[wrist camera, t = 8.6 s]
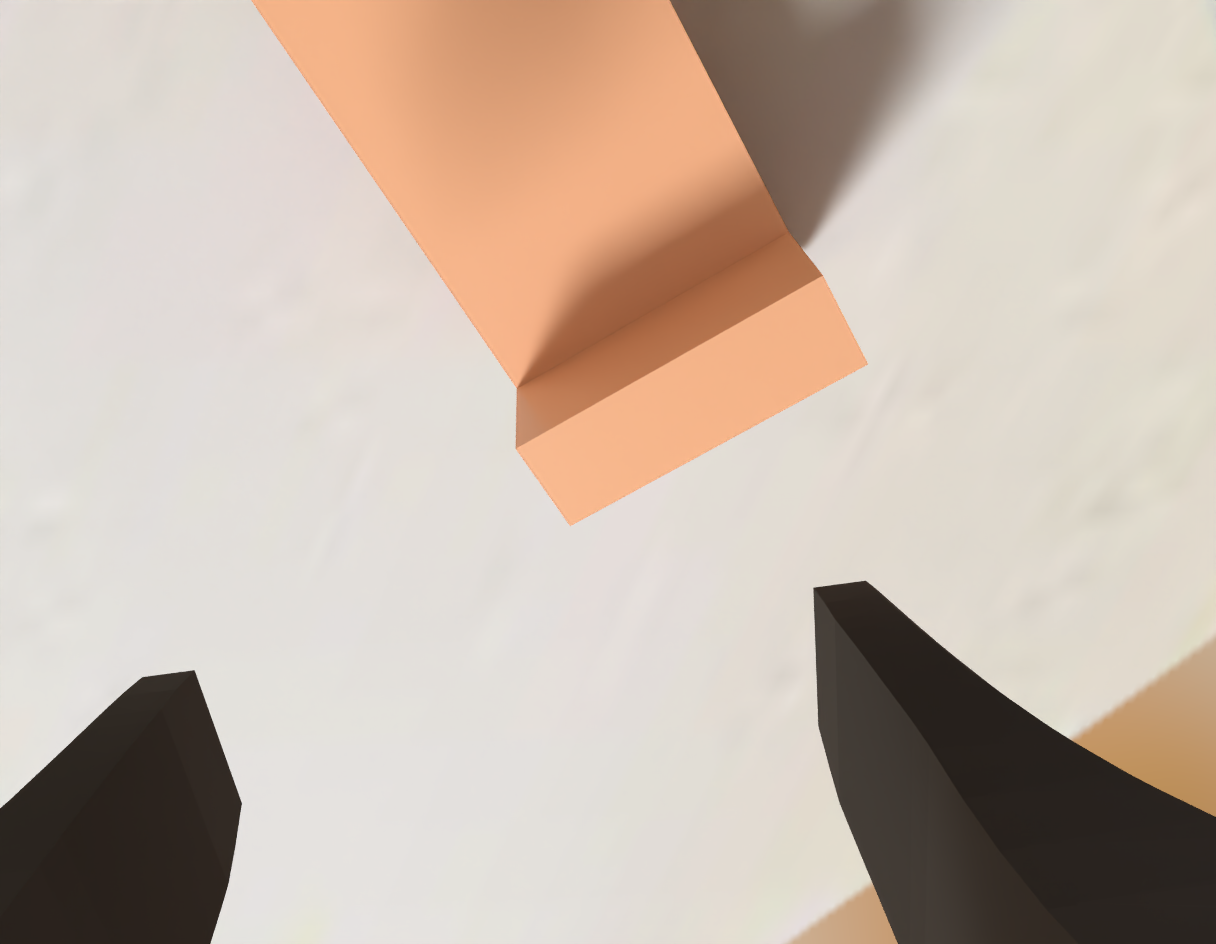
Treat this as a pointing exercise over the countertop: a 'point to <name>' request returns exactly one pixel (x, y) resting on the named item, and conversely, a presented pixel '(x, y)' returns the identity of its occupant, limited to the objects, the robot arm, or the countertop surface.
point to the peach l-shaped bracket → (581, 221)
